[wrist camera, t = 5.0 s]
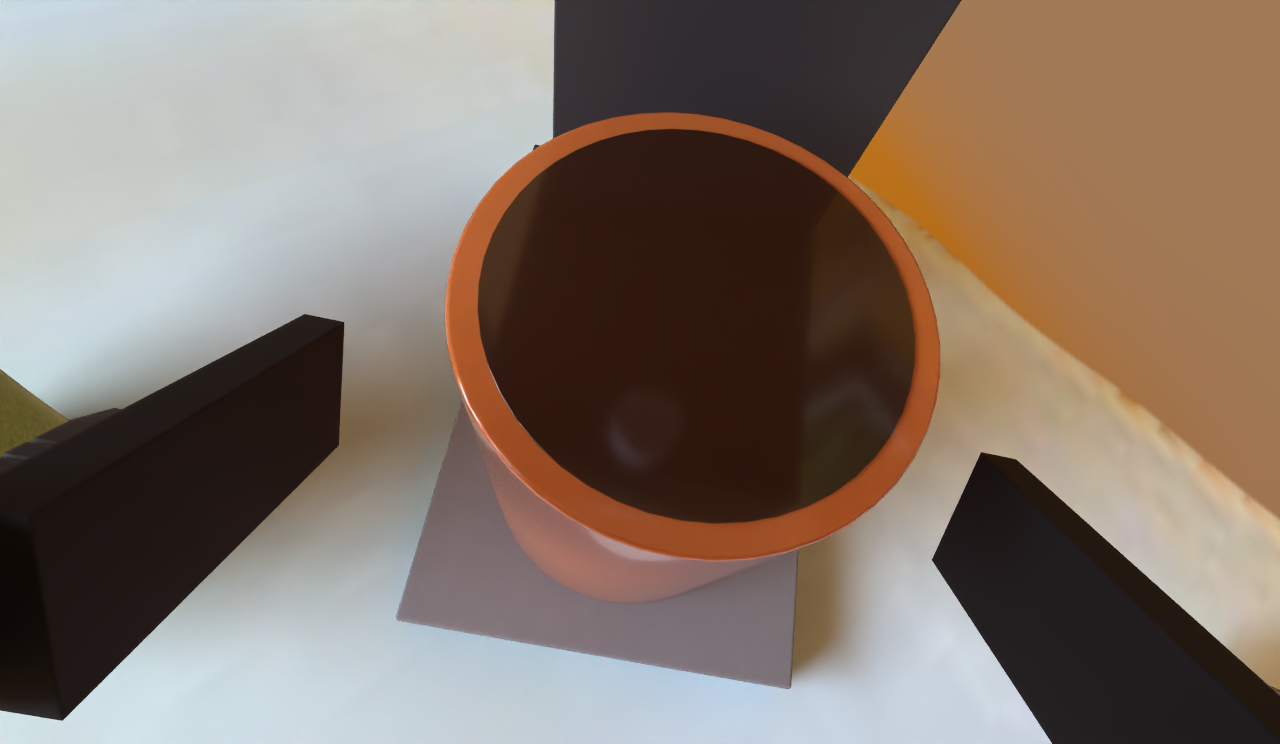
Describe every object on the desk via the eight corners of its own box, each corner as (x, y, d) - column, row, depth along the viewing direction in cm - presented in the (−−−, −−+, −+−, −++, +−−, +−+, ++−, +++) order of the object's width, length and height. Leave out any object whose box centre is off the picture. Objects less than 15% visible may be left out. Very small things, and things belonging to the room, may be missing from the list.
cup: (473, 366, 20) (411, 131, 11) (715, 323, 22) (837, 90, 13) (522, 638, 17) (493, 632, 8) (796, 562, 19) (1030, 485, 10)
